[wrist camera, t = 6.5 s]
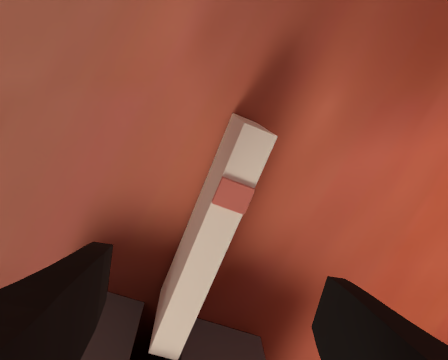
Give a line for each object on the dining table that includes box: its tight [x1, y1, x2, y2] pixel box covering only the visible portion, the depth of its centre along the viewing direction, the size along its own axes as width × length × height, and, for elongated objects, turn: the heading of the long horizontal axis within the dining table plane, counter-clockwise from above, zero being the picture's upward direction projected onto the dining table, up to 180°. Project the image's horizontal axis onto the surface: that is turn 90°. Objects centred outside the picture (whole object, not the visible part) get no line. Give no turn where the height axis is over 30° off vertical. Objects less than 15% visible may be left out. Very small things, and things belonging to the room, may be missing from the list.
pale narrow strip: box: [148, 113, 278, 360], centre depth 17 cm, size 2×12×6 cm, turn 158°
